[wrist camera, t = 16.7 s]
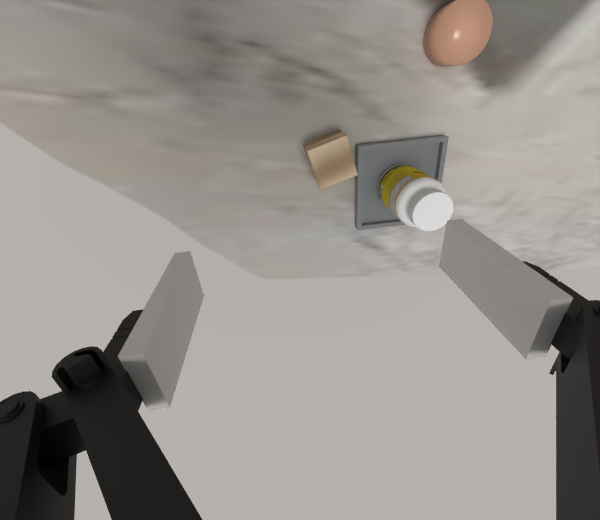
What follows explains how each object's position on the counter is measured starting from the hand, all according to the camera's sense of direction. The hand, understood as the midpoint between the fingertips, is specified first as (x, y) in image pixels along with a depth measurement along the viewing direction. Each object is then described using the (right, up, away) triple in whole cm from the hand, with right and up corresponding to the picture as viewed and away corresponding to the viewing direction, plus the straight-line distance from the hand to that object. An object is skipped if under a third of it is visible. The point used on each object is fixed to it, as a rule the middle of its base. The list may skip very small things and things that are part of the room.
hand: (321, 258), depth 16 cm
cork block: (+2, +14, +25) cm, 29 cm away
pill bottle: (+13, +11, +28) cm, 33 cm away
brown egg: (+16, +26, +20) cm, 37 cm away
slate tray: (+13, +11, +28) cm, 33 cm away
